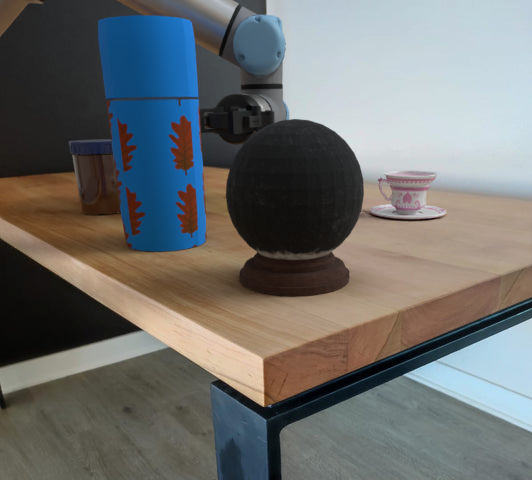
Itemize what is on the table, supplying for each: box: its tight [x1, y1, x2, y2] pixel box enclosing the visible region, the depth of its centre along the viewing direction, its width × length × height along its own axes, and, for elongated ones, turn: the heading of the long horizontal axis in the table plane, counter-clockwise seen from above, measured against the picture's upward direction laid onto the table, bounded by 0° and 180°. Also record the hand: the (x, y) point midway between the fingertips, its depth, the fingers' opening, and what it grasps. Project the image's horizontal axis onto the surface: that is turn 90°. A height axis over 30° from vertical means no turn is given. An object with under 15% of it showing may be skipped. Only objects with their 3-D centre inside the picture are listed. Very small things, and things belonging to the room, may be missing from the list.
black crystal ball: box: [225, 118, 365, 297], centre depth 52 cm, size 13×13×15 cm
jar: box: [72, 153, 121, 216], centre depth 92 cm, size 8×8×11 cm
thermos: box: [97, 14, 207, 252], centre depth 67 cm, size 11×11×25 cm
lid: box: [68, 138, 113, 155], centre depth 90 cm, size 8×8×2 cm
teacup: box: [369, 170, 447, 220], centre depth 86 cm, size 12×12×6 cm
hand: (183, 123), depth 72 cm, fingers open, 13 cm apart
